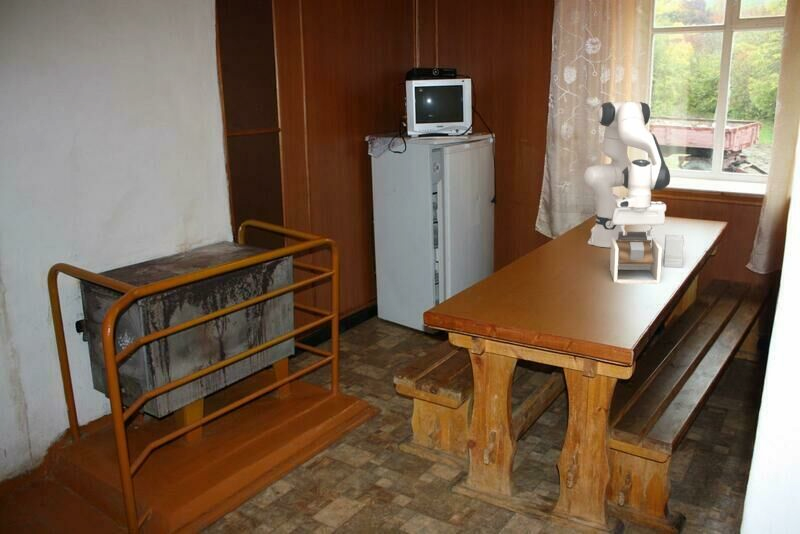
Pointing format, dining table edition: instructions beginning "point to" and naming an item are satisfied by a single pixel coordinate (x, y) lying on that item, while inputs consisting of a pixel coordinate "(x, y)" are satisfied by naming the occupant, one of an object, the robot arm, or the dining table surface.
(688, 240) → the dining table surface
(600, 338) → the dining table surface
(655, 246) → the frame
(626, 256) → the trapdoor
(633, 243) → the light grey cube
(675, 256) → the supplement box
